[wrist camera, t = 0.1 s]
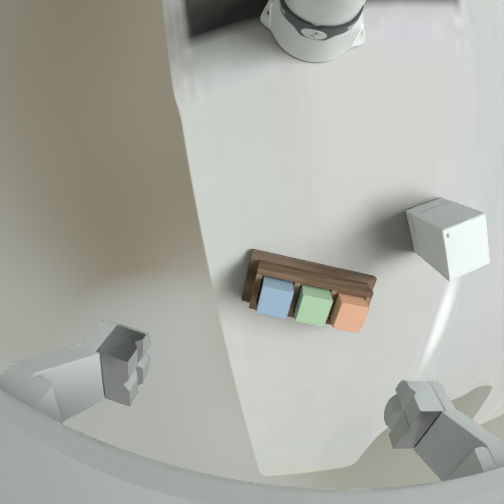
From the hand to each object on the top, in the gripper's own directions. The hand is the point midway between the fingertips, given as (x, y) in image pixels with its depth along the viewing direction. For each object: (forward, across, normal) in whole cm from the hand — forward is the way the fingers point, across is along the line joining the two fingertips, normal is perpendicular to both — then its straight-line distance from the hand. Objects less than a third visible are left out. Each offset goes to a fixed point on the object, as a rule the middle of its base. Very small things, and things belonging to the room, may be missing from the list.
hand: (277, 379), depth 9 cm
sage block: (+43, -10, +17) cm, 47 cm away
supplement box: (+48, -30, -1) cm, 57 cm away
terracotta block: (+43, -16, +17) cm, 49 cm away
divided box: (+48, -10, +17) cm, 52 cm away
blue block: (+43, -3, +17) cm, 47 cm away
